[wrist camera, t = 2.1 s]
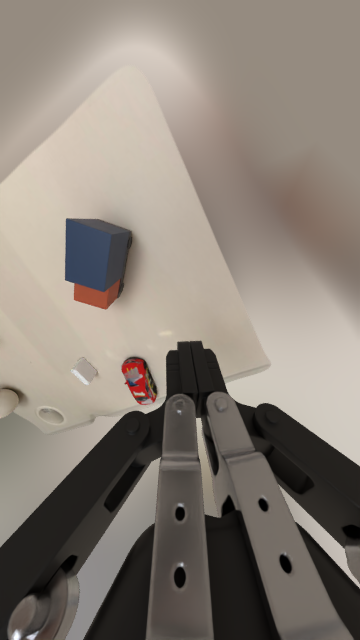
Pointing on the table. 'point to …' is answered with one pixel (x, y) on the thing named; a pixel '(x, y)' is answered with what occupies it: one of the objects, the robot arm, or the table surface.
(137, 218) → the table surface
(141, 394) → the race car
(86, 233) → the toy truck
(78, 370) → the eraser
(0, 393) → the off-white ball
